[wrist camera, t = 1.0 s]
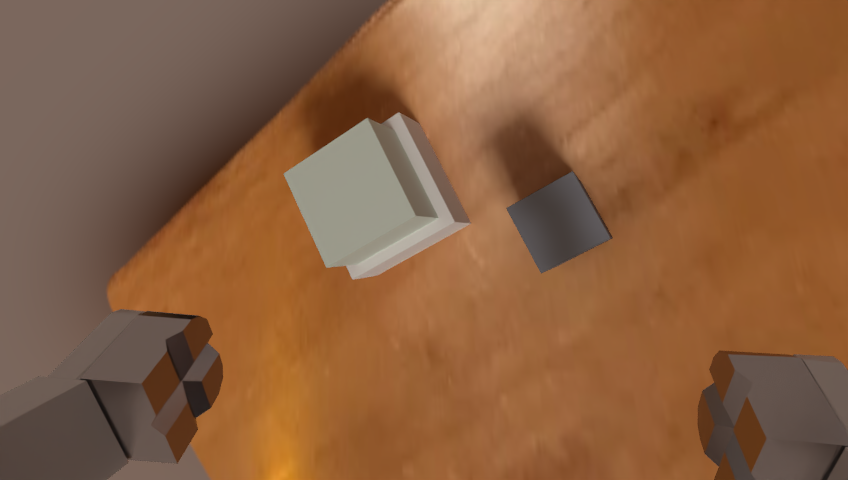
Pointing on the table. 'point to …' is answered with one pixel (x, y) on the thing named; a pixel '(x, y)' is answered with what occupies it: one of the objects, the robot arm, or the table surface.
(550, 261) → the charcoal block
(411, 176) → the tower top
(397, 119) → the tower base
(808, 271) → the table surface
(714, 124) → the table surface
